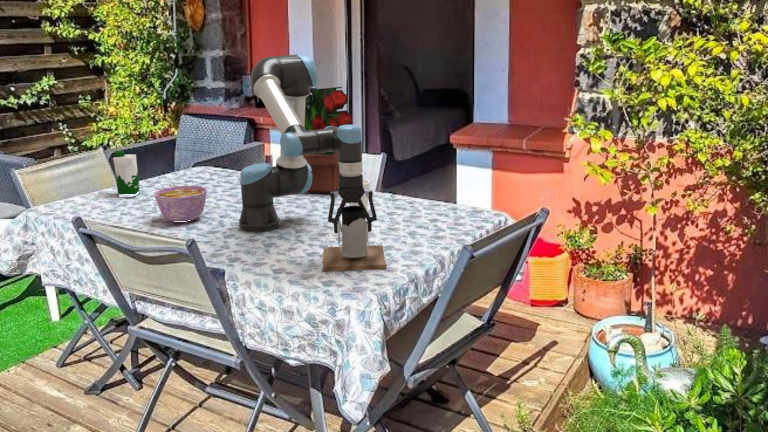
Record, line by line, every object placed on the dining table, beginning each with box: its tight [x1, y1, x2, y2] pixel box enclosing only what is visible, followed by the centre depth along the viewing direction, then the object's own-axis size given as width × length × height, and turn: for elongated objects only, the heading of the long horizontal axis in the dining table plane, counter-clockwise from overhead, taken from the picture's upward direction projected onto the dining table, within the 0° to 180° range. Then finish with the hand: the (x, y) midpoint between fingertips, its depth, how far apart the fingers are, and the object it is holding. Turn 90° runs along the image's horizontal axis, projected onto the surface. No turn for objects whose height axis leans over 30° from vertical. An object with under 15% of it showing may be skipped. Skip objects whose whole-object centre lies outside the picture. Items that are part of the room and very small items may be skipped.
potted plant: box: [303, 86, 352, 195], centre depth 341 cm, size 22×22×45 cm
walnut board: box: [322, 244, 387, 273], centre depth 256 cm, size 20×20×2 cm
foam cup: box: [348, 178, 371, 211], centre depth 308 cm, size 10×9×13 cm
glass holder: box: [336, 205, 368, 258], centre depth 253 cm, size 9×14×15 cm, turn 35°
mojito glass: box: [112, 150, 140, 195], centre depth 343 cm, size 9×9×20 cm
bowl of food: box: [153, 185, 208, 222], centre depth 305 cm, size 20×20×12 cm
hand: (353, 241), depth 254 cm, fingers closed on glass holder, 8 cm apart
